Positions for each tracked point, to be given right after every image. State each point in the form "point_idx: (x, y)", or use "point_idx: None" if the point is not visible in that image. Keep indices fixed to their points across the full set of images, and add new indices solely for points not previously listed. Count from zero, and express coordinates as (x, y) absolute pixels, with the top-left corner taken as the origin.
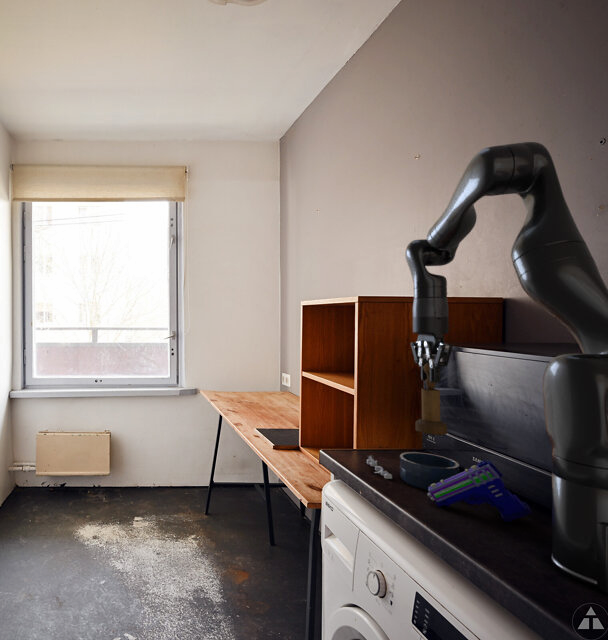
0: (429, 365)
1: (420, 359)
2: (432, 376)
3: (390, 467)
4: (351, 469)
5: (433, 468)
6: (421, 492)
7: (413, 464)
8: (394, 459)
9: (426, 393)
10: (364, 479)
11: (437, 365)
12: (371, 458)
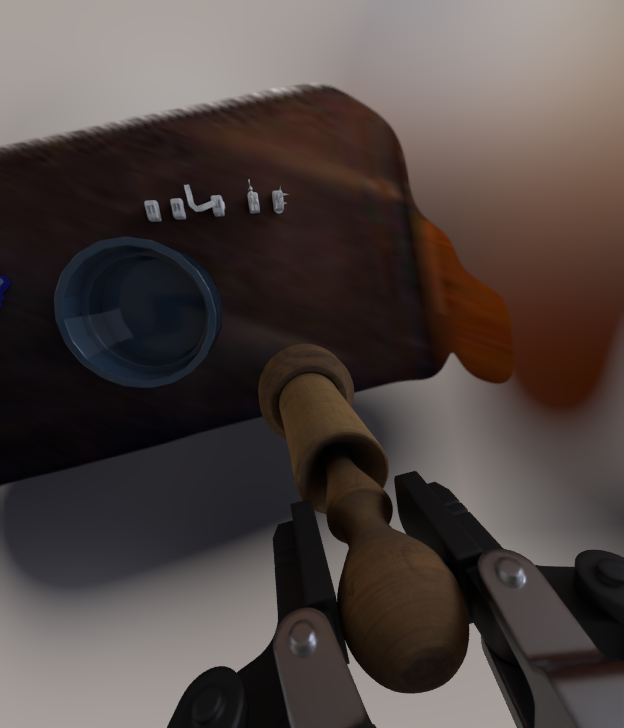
0: (366, 627)
1: (555, 631)
2: (296, 542)
3: (262, 253)
4: (204, 121)
5: (55, 302)
6: None
7: (76, 255)
8: (339, 287)
9: (307, 435)
10: (120, 135)
11: (188, 697)
12: (276, 201)
